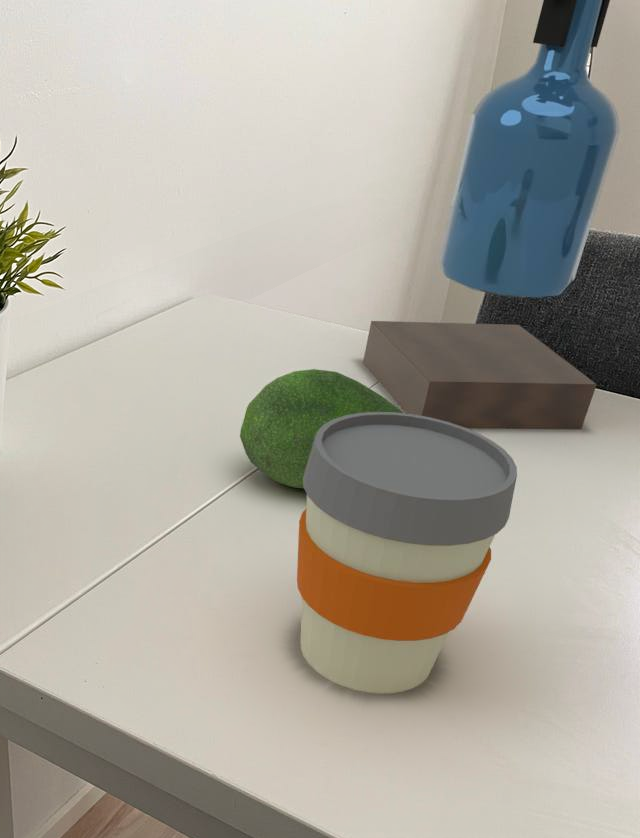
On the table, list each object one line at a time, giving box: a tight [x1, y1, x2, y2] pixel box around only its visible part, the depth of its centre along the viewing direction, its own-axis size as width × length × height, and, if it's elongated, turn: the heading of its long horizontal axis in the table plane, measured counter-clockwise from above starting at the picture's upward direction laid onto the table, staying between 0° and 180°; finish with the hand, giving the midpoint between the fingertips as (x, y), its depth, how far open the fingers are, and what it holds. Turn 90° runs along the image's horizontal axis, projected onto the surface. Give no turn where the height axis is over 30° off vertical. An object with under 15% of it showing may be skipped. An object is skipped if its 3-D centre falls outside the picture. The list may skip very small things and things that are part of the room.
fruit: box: [239, 368, 404, 489], centre depth 86 cm, size 15×10×10 cm, turn 81°
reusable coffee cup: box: [296, 412, 518, 695], centre depth 64 cm, size 13×13×15 cm
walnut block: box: [362, 320, 598, 430], centre depth 108 cm, size 18×18×5 cm
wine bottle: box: [438, 0, 620, 299], centre depth 92 cm, size 14×13×30 cm
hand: (565, 44), depth 88 cm, fingers closed on wine bottle, 4 cm apart
